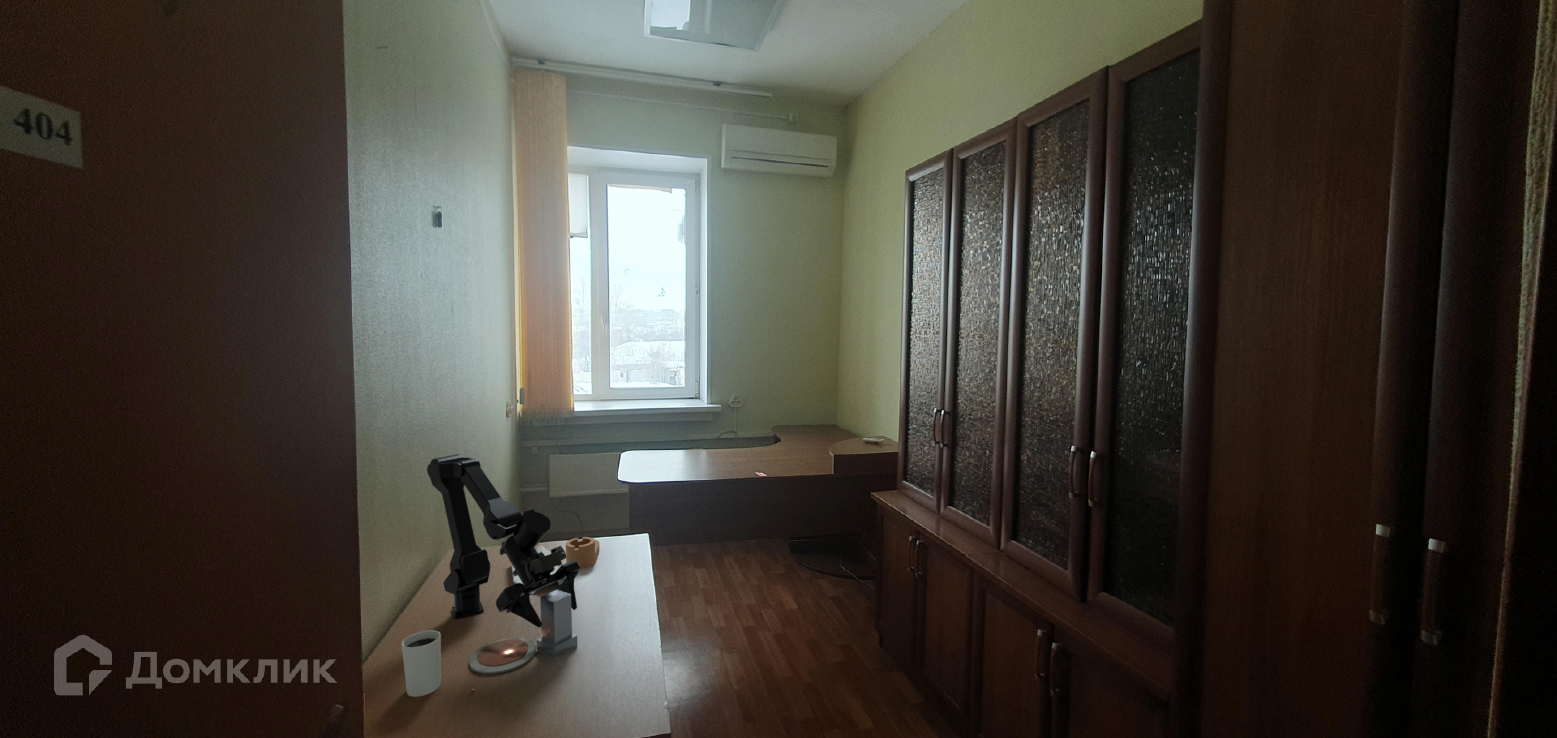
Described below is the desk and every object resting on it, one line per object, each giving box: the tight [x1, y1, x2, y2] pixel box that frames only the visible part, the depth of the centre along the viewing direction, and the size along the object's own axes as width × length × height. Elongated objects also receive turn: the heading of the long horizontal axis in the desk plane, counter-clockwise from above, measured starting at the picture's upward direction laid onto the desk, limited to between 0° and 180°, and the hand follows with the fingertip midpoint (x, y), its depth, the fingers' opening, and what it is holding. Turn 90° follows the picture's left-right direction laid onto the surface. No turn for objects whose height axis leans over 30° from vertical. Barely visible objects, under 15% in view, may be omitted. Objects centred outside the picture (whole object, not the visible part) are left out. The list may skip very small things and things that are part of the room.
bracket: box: [565, 536, 600, 570], centre depth 185 cm, size 18×8×7 cm, turn 10°
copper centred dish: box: [468, 637, 537, 675], centre depth 130 cm, size 13×13×1 cm
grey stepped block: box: [536, 589, 579, 660], centre depth 133 cm, size 6×6×12 cm
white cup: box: [401, 629, 442, 698], centre depth 118 cm, size 7×7×10 cm
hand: (558, 617), depth 132 cm, fingers open, 9 cm apart
